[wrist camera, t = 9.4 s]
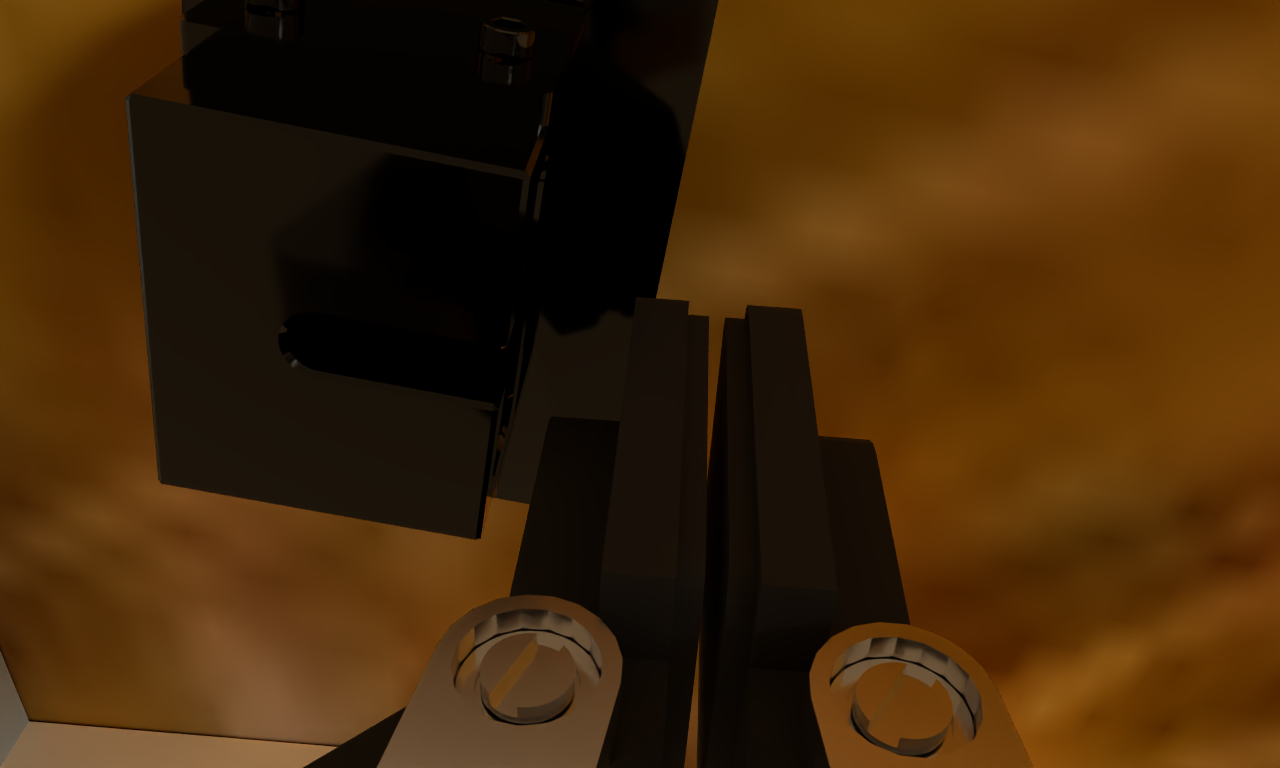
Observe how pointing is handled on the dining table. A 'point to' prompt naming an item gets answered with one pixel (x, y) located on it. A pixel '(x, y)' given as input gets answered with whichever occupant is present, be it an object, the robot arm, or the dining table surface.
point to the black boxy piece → (402, 239)
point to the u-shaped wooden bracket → (129, 744)
